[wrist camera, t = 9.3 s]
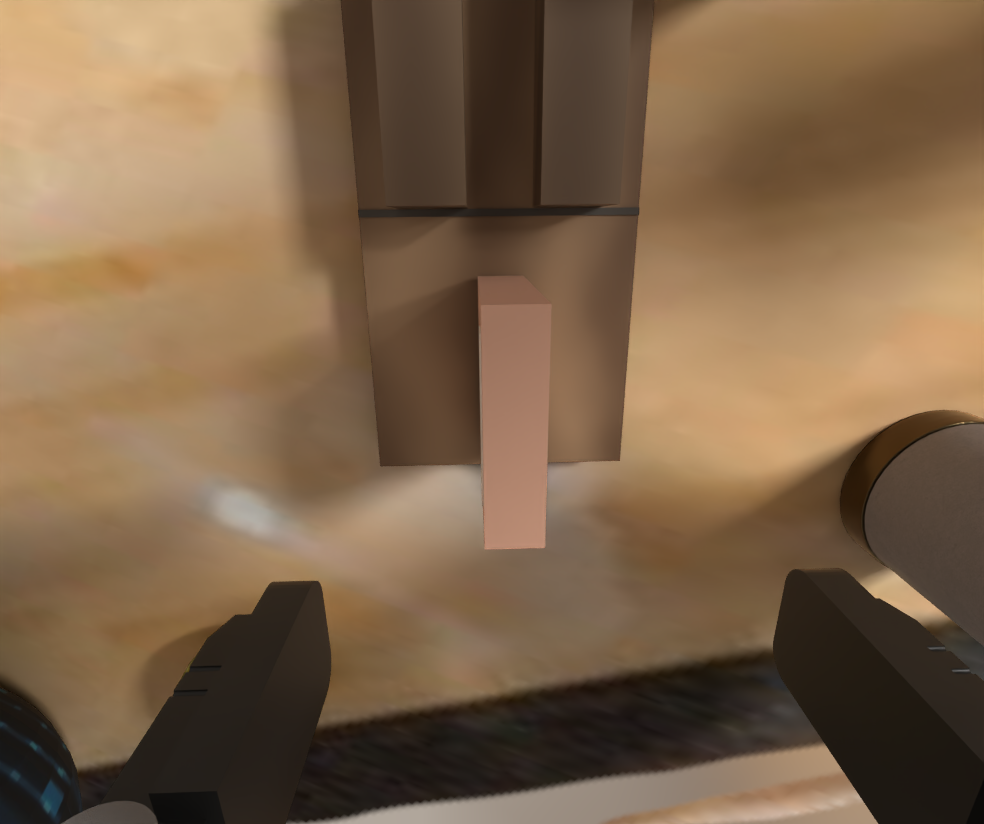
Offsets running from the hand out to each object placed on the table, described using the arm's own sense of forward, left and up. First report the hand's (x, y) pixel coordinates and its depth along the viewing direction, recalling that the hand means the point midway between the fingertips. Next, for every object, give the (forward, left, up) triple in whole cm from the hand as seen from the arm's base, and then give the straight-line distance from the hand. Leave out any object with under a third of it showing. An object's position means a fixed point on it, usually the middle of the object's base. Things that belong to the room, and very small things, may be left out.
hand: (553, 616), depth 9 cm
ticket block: (0, -6, -19) cm, 20 cm away
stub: (0, 0, -17) cm, 17 cm away
